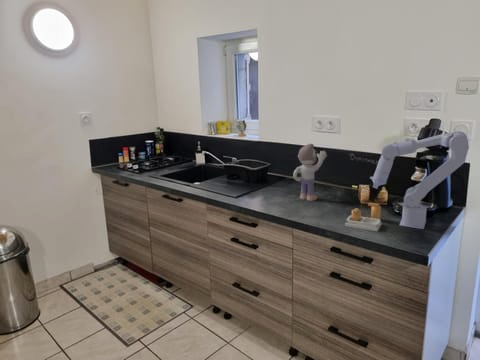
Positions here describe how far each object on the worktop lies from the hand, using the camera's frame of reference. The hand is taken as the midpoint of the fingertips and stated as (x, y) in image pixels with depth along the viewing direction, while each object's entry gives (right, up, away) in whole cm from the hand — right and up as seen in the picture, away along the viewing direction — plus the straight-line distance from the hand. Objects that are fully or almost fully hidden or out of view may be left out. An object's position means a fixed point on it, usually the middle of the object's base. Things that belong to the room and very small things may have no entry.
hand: (372, 198), depth 163 cm
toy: (-21, -2, +34) cm, 40 cm away
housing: (-6, -12, -4) cm, 14 cm away
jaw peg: (+2, -10, +2) cm, 10 cm away
